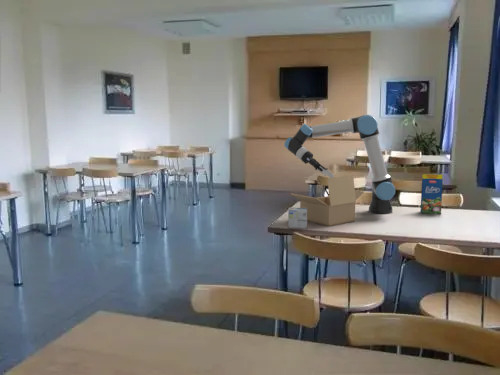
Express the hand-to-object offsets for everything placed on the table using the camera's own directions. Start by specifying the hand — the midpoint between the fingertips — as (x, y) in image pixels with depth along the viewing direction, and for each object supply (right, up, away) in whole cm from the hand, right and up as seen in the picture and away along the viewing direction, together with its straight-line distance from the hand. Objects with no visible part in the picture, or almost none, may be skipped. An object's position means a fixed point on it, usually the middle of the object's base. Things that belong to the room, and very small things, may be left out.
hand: (330, 175), depth 297 cm
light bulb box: (-22, -30, -18) cm, 41 cm away
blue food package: (+68, -24, +20) cm, 75 cm away
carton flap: (+4, -9, -13) cm, 16 cm away
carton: (-2, -27, -2) cm, 27 cm away
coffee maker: (+10, -20, +45) cm, 51 cm away
